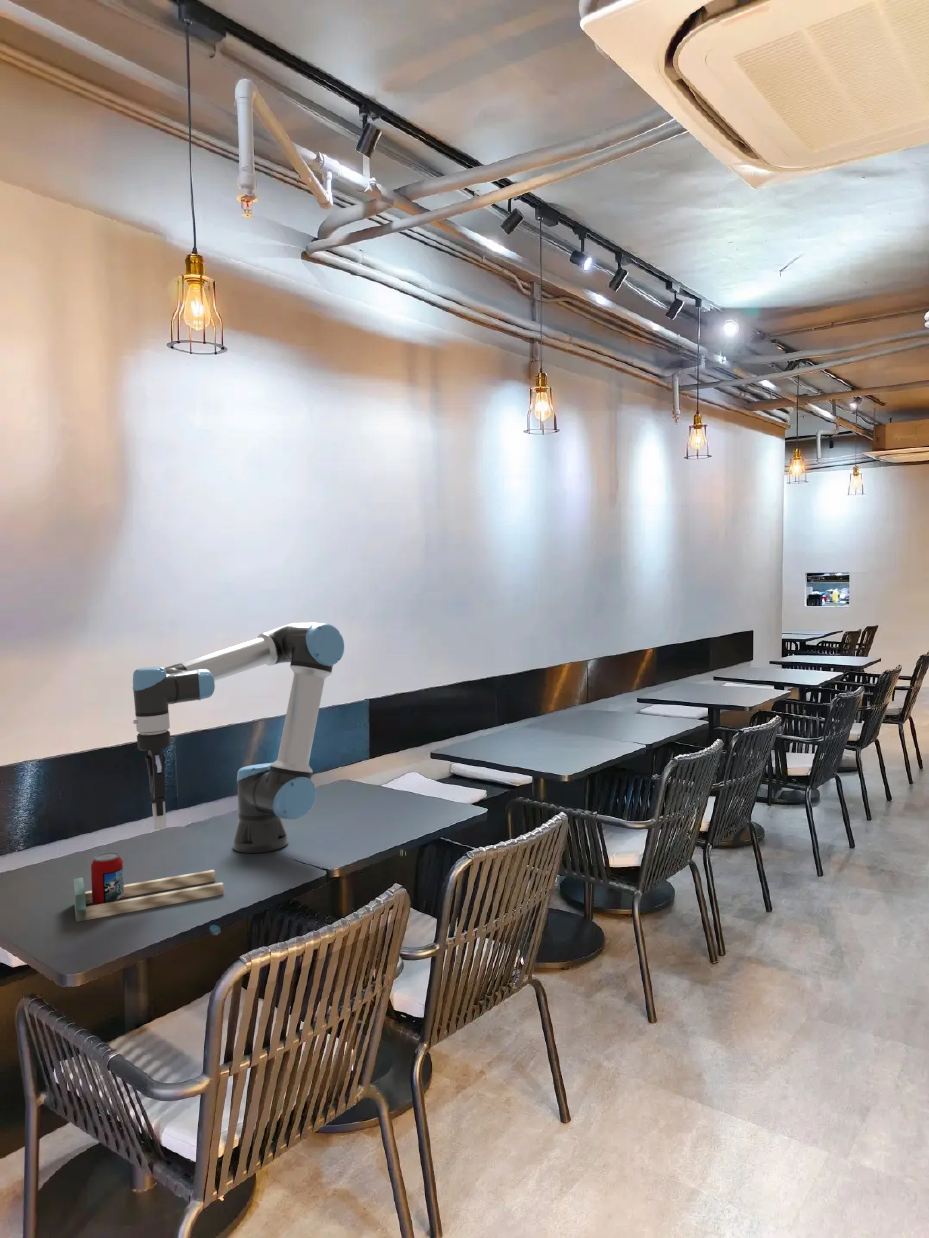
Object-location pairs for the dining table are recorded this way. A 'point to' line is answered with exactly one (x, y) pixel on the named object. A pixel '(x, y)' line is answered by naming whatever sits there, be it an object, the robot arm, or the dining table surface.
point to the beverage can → (107, 878)
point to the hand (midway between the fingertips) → (160, 827)
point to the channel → (151, 900)
